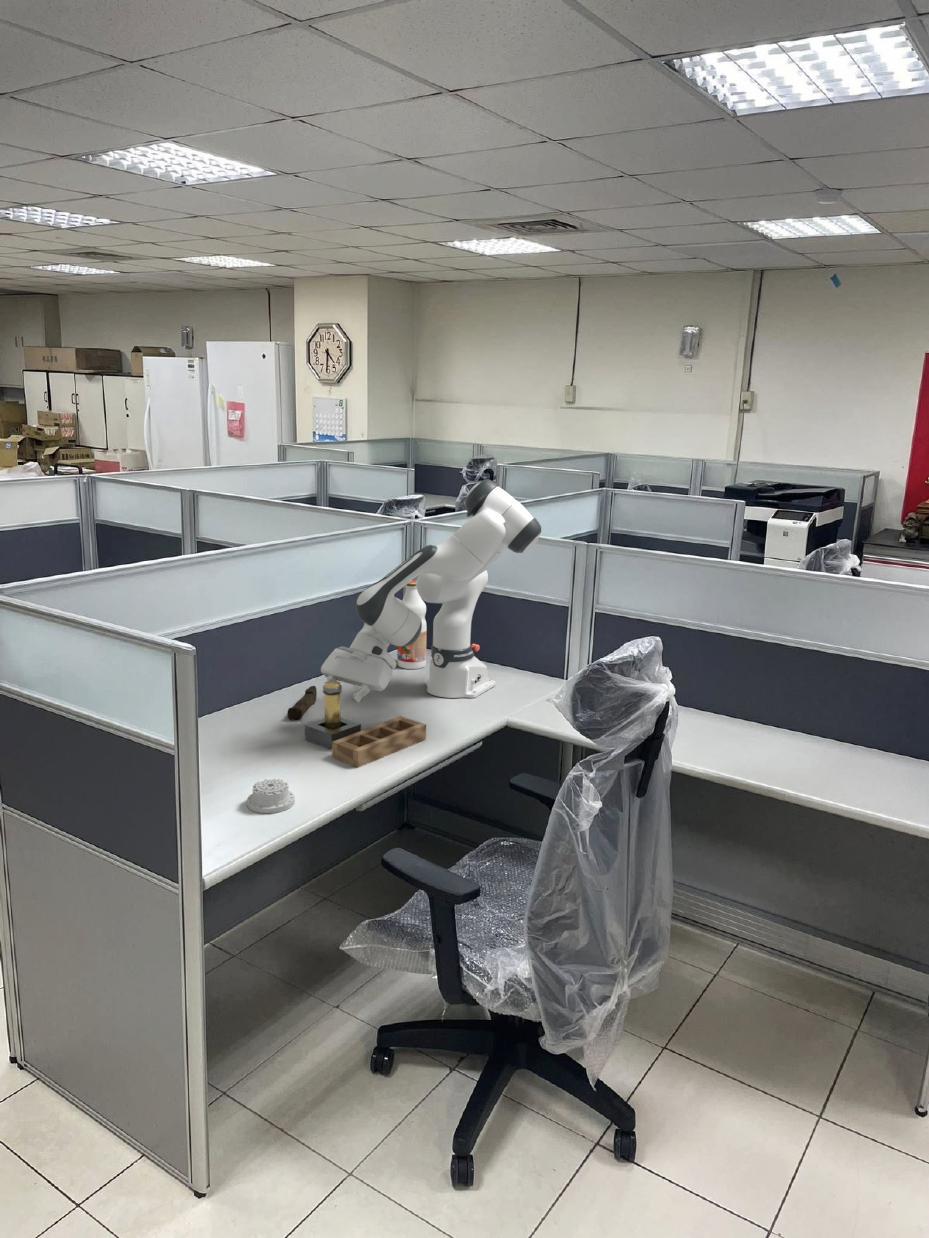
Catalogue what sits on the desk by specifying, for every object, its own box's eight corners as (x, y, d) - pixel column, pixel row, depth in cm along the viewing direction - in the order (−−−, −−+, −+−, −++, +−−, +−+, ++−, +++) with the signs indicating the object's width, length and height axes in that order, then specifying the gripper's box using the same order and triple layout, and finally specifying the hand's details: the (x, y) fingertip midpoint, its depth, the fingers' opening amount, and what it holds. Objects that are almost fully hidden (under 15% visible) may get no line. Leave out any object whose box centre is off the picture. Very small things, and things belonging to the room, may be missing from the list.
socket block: (334, 729, 233) (334, 714, 232) (360, 738, 227) (360, 724, 226) (305, 739, 226) (304, 724, 225) (331, 749, 220) (331, 734, 219)
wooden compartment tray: (400, 730, 233) (400, 716, 232) (426, 739, 228) (426, 724, 227) (332, 757, 215) (332, 741, 214) (358, 767, 210) (358, 751, 209)
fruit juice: (427, 669, 287) (429, 584, 280) (398, 670, 285) (399, 584, 278) (424, 660, 296) (425, 578, 289) (396, 661, 294) (396, 578, 287)
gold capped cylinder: (333, 734, 230) (332, 679, 226) (345, 739, 227) (345, 683, 223) (320, 739, 226) (319, 683, 223) (332, 744, 223) (331, 687, 220)
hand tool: (301, 722, 239) (300, 705, 238) (287, 720, 239) (286, 704, 238) (324, 699, 257) (324, 684, 256) (311, 698, 258) (311, 683, 256)
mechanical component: (302, 797, 194) (261, 791, 197) (302, 779, 193) (261, 772, 196) (280, 817, 185) (238, 810, 187) (280, 798, 184) (237, 791, 186)
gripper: (331, 638, 234) (305, 683, 229) (390, 652, 223) (364, 699, 218) (343, 651, 239) (318, 695, 234) (402, 665, 228) (377, 711, 222)
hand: (341, 697), depth 225 cm, fingers open, 8 cm apart
